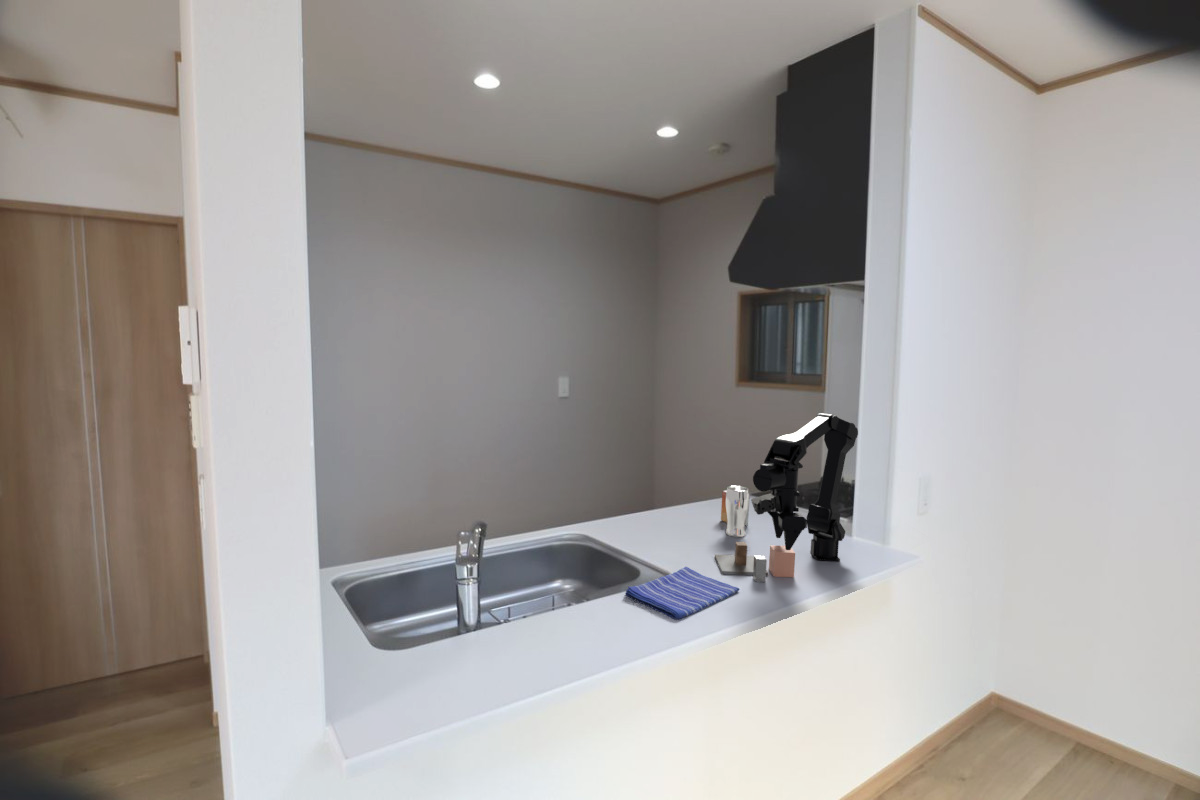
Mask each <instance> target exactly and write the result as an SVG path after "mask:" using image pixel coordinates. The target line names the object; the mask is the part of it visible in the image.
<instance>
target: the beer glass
mask: <svg viewBox="0 0 1200 800" xmlns="http://www.w3.org/2000/svg"><path fill="white" fill-rule="evenodd" d="M726 490H727V493H726V512H727V521H728V523H726V529H725V534H726V536H728V535H729V537H732V538H743V536H744V537H746V532H745V531H746V530H745V529H746V528H745V526H744V523H745V518H746V513H747V509H748V495H749V488H748V487H745V486H742V485H729V486H727V488H726Z"/></svg>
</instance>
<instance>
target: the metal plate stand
mask: <svg viewBox="0 0 1200 800" xmlns="http://www.w3.org/2000/svg"><path fill="white" fill-rule="evenodd" d="M714 559H715V562H716V563H717V565H718V568H719V570H720V572H721V575H742V576H753V567H754V555H748V545H747V543H746V541H745V542H744V541H735V549H734V554H714ZM767 575H768V576H769V572H768V570H767V569H766V576H767Z"/></svg>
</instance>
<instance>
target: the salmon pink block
mask: <svg viewBox="0 0 1200 800" xmlns="http://www.w3.org/2000/svg"><path fill="white" fill-rule="evenodd" d="M768 558H769V560H768V561H769V562H768V571H770V573H771V575H772V576H773V578H774V577H775V578H776V577H777V578H778V577H779V578H794V577H795V564H796V563H795V562H796V552H795V550H794V549H793V547H792V548H791V550H786V548H785V545H773V544H771V545H770V546H769V557H768Z"/></svg>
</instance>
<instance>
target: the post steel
mask: <svg viewBox="0 0 1200 800" xmlns="http://www.w3.org/2000/svg"><path fill="white" fill-rule="evenodd" d="M753 556H754V567H753V575H752V579H753V578H754V579H753V581H754V582H755V581H757V583H765V582H766V579H767V577H766V576H767V575H766V570H767V560H768V559H767V558H766V556H765V555H757V554H756V555H755V554H754V555H753Z"/></svg>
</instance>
